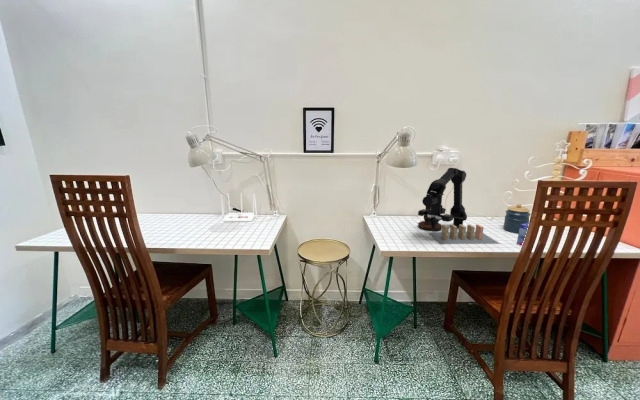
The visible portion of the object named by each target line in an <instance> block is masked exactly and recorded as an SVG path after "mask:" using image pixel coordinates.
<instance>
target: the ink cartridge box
mask: <svg viewBox="0 0 640 400" xmlns="http://www.w3.org/2000/svg"><path fill="white" fill-rule="evenodd" d="M528 224H529V223H524V224H521V225H520V229H519V233H517V234H518V235H517V240H516V245H518V246H521V245H522V243H523V241H524V238H525V235H526V232H527V228H528Z"/></svg>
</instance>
